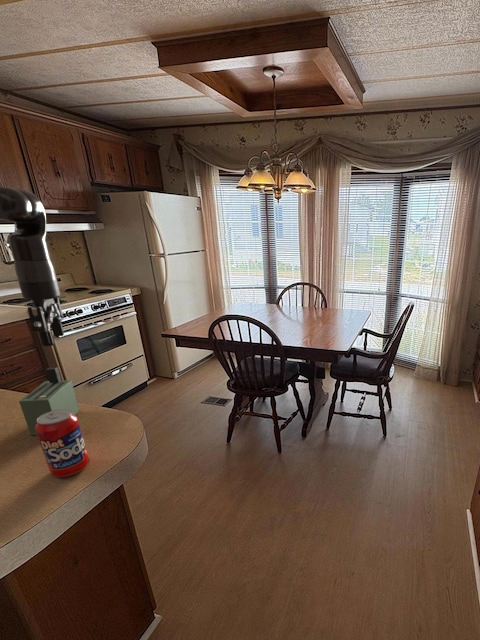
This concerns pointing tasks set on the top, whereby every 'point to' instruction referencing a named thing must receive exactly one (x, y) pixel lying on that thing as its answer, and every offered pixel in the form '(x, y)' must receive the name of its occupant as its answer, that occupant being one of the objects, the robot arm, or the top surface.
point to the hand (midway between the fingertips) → (54, 340)
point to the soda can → (62, 442)
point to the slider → (53, 375)
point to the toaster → (48, 401)
